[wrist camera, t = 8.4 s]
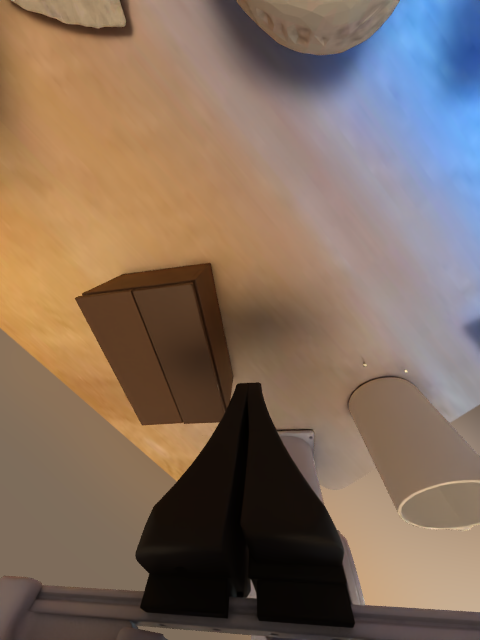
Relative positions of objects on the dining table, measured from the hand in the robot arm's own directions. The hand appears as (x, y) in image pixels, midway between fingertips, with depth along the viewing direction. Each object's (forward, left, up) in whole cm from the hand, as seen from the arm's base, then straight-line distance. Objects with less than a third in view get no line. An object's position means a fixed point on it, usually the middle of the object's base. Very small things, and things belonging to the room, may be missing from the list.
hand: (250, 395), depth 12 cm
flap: (-1, +10, -5) cm, 11 cm away
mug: (-15, -15, -11) cm, 24 cm away
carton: (-1, +8, -10) cm, 13 cm away
